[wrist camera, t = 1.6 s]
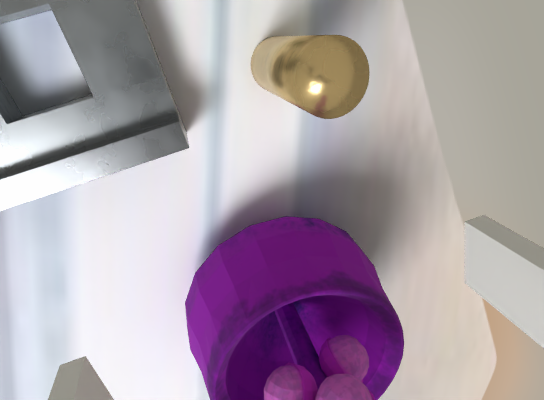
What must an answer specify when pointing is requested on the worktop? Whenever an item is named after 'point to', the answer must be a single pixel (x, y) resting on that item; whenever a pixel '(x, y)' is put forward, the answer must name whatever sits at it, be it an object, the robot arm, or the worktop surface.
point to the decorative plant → (292, 316)
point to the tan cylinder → (313, 72)
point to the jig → (89, 104)
